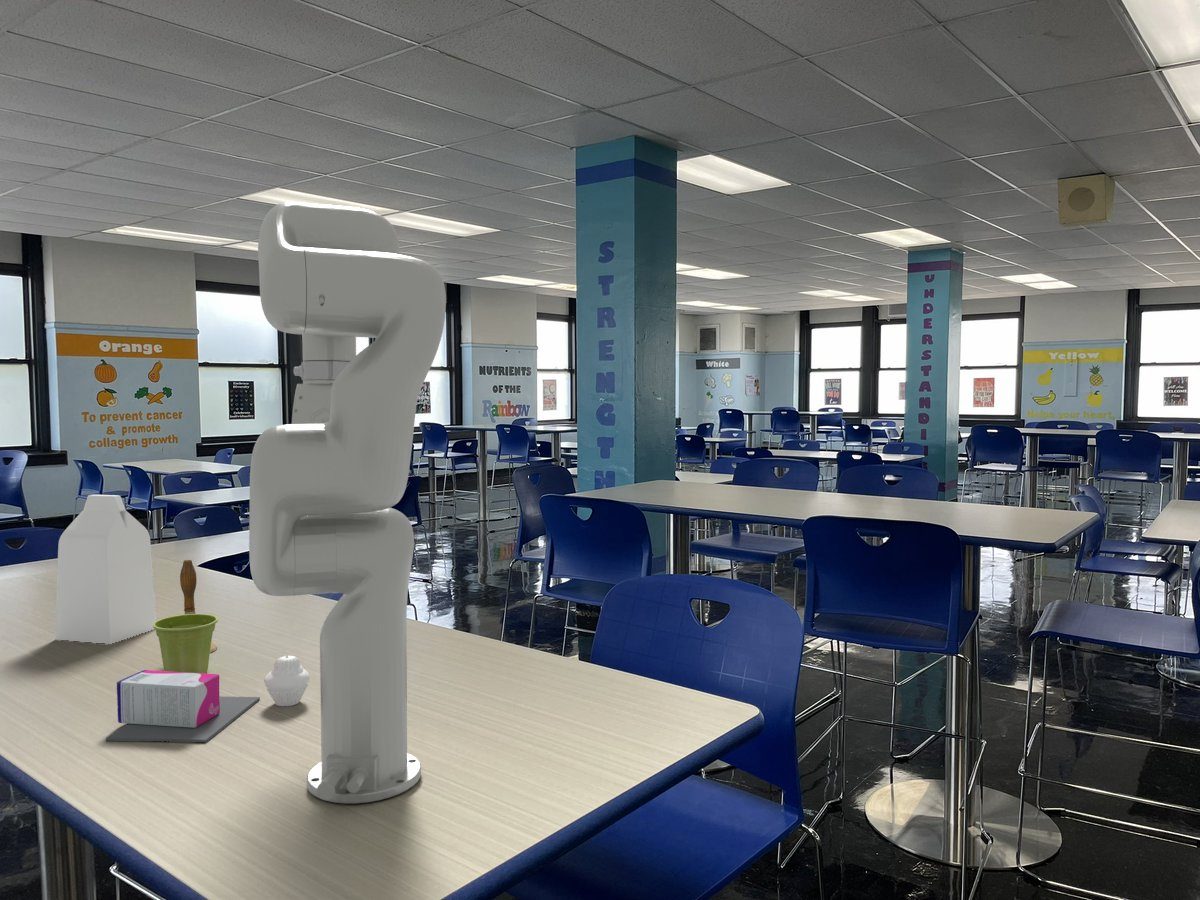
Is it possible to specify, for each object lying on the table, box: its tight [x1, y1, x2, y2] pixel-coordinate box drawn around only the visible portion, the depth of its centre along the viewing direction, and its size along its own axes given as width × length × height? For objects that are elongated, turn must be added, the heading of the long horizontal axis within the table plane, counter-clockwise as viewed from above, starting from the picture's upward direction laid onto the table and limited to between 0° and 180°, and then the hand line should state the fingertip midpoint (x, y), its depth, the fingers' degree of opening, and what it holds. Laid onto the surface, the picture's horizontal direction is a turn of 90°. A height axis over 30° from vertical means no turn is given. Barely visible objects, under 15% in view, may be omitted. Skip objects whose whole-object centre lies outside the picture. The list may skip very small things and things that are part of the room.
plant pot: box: [153, 613, 219, 674], centre depth 137 cm, size 9×9×9 cm
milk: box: [54, 494, 158, 645], centre depth 161 cm, size 12×12×26 cm
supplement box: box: [116, 669, 220, 728], centre depth 117 cm, size 6×6×12 cm
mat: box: [105, 695, 261, 744], centre depth 118 cm, size 16×13×1 cm
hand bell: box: [179, 559, 218, 654], centre depth 150 cm, size 8×8×16 cm
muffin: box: [264, 654, 311, 708], centre depth 125 cm, size 6×6×7 cm
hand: (331, 498), depth 128 cm, fingers closed
